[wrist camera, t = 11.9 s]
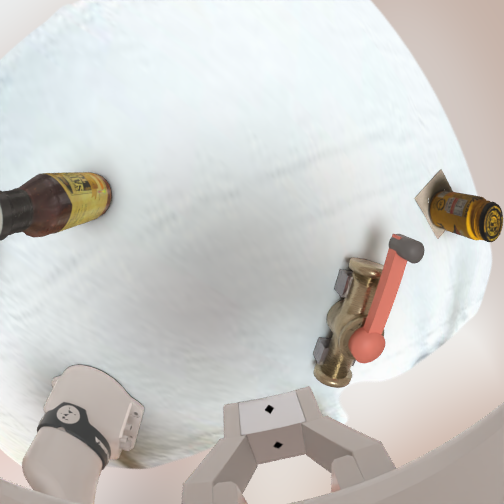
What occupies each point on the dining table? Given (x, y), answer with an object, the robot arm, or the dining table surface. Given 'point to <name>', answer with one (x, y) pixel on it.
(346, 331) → the valve body
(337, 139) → the dining table surface
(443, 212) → the condiment
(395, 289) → the lever
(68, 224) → the sauce bottle
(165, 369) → the dining table surface
